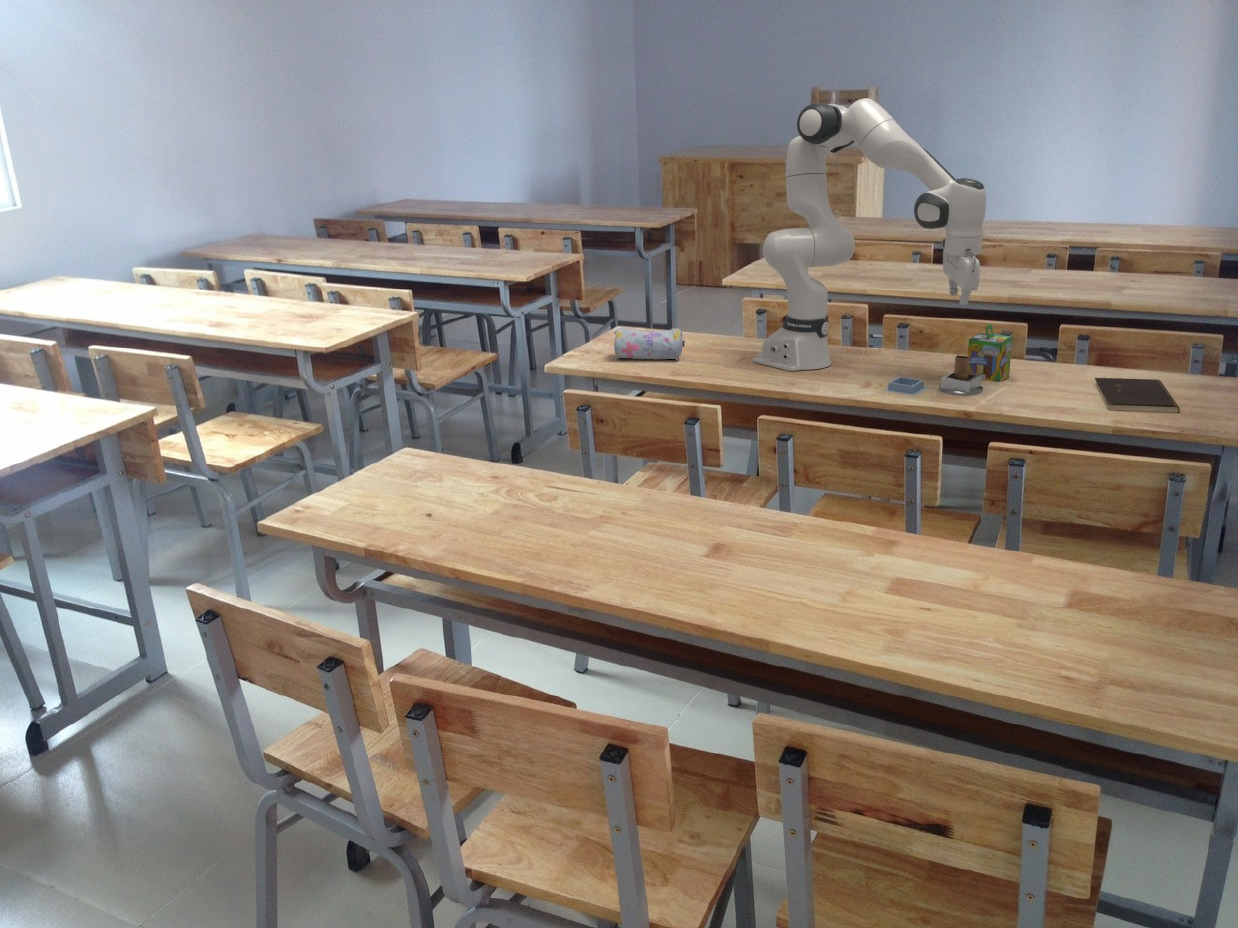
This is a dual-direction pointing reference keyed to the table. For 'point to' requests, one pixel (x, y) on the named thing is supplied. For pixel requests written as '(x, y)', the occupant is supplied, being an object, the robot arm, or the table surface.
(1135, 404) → the hardcover book
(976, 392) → the hub
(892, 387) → the stand
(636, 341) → the pencil case
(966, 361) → the peg
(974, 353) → the chalk box
